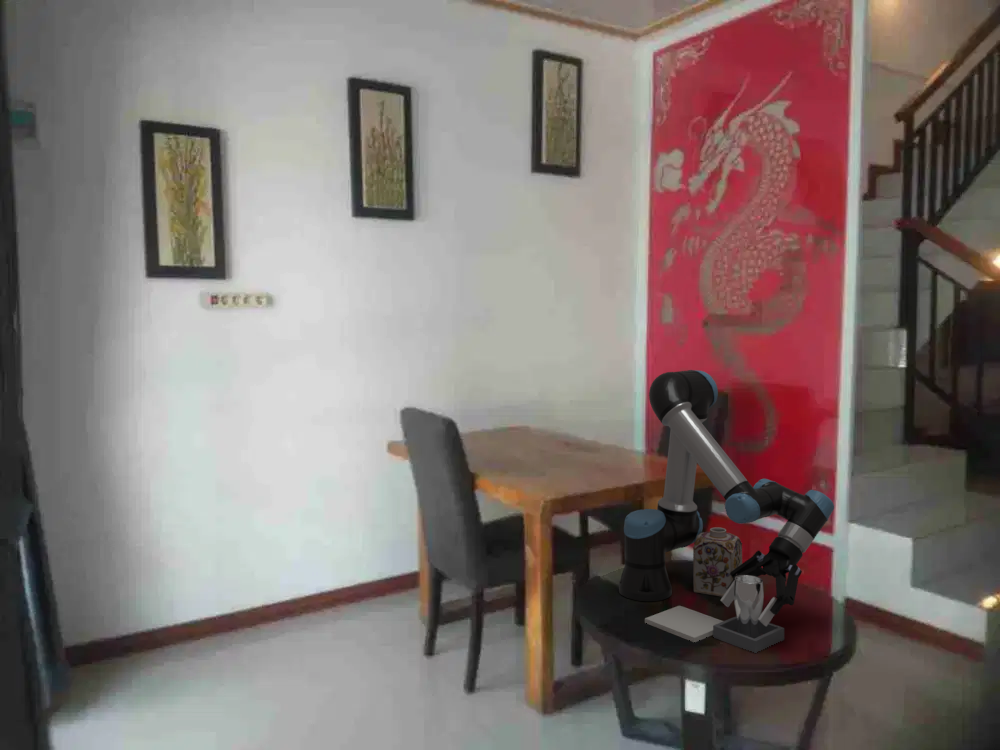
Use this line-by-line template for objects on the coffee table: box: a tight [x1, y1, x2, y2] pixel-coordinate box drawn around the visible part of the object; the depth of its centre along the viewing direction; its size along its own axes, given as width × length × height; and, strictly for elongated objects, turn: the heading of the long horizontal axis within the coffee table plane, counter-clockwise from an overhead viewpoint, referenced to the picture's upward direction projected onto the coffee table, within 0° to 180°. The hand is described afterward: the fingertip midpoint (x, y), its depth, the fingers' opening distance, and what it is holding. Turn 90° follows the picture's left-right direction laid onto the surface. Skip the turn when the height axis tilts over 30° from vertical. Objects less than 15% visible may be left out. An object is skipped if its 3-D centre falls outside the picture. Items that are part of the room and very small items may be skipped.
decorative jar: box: [692, 527, 743, 598], centre depth 218 cm, size 12×12×18 cm
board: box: [644, 605, 724, 643], centre depth 193 cm, size 16×14×1 cm
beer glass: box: [733, 575, 764, 639], centre depth 183 cm, size 7×7×15 cm
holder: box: [712, 615, 785, 654], centre depth 184 cm, size 12×12×3 cm
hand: (742, 613), depth 183 cm, fingers open, 13 cm apart
